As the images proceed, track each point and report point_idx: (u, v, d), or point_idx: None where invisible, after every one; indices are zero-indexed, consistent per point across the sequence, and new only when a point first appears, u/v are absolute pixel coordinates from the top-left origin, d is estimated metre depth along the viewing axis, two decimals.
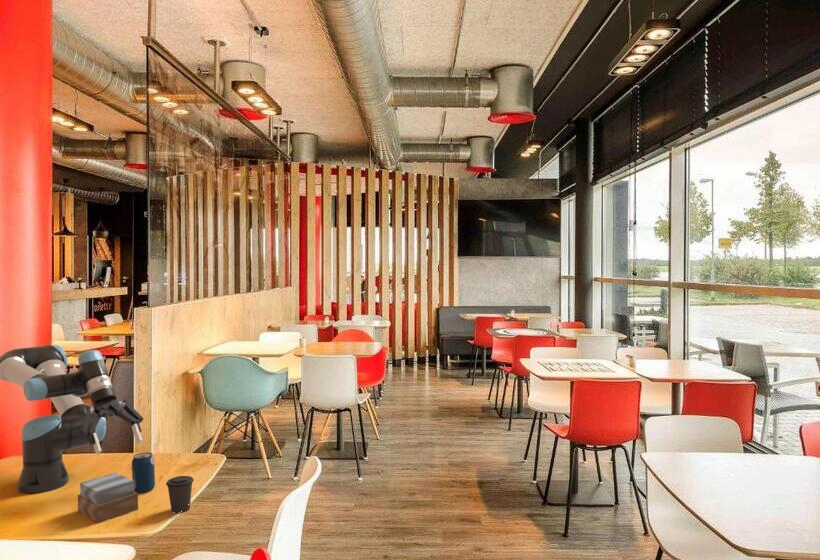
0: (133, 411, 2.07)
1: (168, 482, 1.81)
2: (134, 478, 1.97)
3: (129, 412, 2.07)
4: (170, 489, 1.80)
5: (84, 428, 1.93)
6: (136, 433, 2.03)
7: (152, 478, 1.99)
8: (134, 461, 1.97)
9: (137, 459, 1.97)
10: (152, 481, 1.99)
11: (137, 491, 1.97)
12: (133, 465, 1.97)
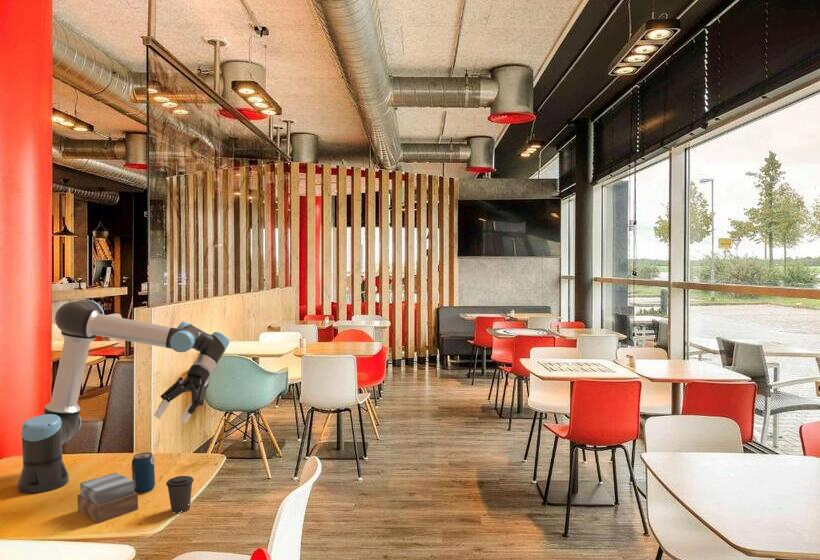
0: None
1: (168, 482, 1.81)
2: (134, 478, 1.97)
3: (173, 389, 2.19)
4: (170, 489, 1.80)
5: None
6: (163, 410, 2.14)
7: (152, 478, 1.99)
8: (134, 461, 1.97)
9: (137, 459, 1.97)
10: (152, 481, 1.99)
11: (137, 491, 1.97)
12: (133, 465, 1.97)
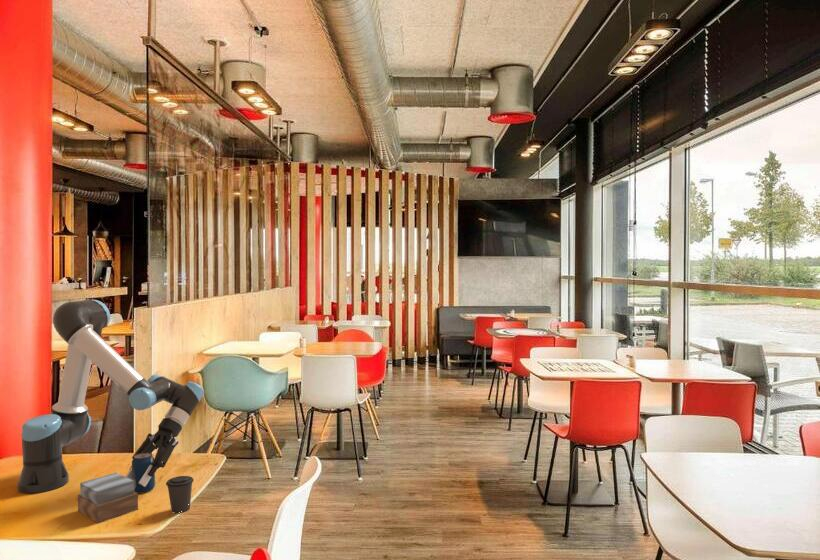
0: None
1: (168, 482, 1.81)
2: (134, 478, 1.97)
3: (145, 446, 2.06)
4: (170, 489, 1.80)
5: None
6: None
7: (152, 478, 1.99)
8: (134, 461, 1.97)
9: (137, 459, 1.97)
10: (152, 481, 1.99)
11: (137, 491, 1.97)
12: (133, 465, 1.97)
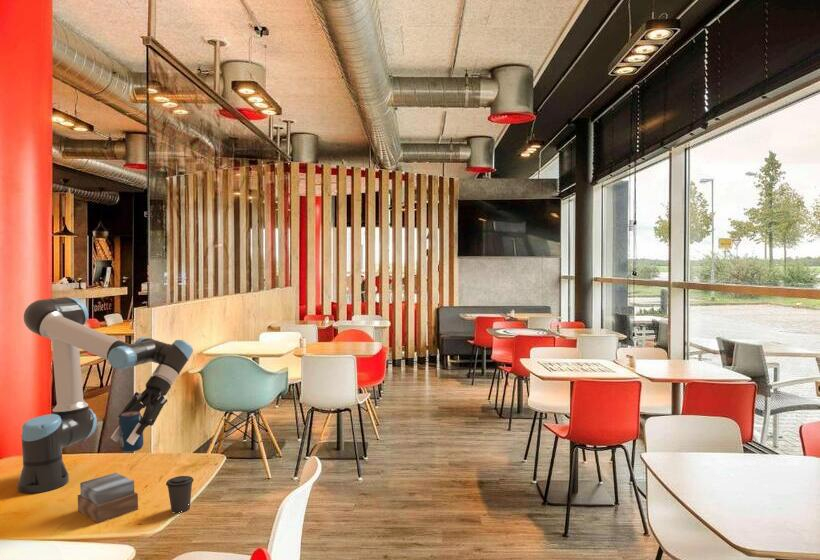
0: None
1: (168, 482, 1.81)
2: (121, 437, 1.89)
3: (132, 405, 1.98)
4: (170, 489, 1.80)
5: None
6: None
7: (140, 437, 1.91)
8: (121, 419, 1.89)
9: (124, 417, 1.89)
10: (140, 440, 1.91)
11: (125, 450, 1.89)
12: (120, 423, 1.89)
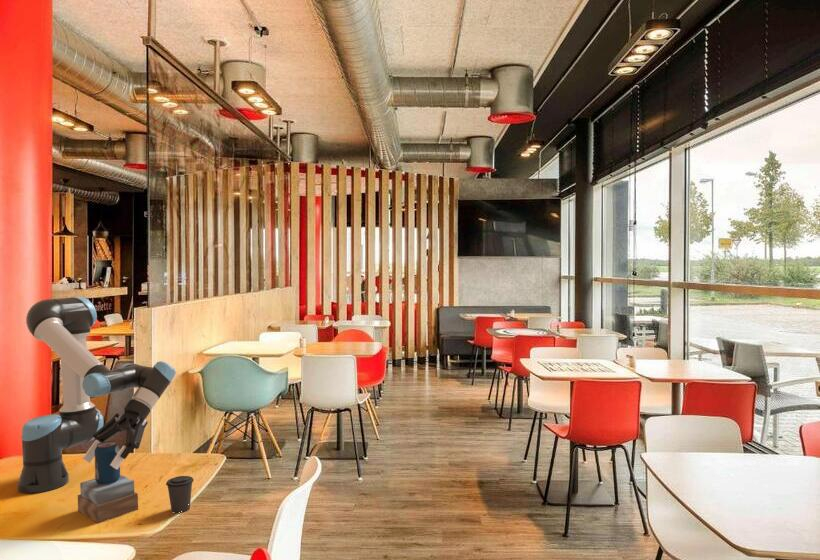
0: None
1: (168, 482, 1.81)
2: (96, 468, 1.80)
3: (108, 427, 1.91)
4: (170, 489, 1.80)
5: None
6: (94, 452, 1.87)
7: None
8: (97, 450, 1.80)
9: (100, 448, 1.80)
10: (117, 472, 1.83)
11: (100, 483, 1.80)
12: (96, 454, 1.80)
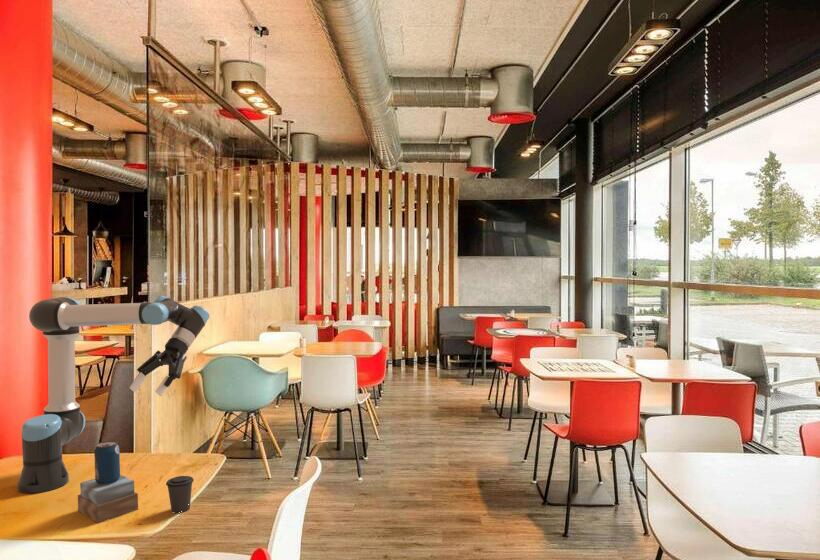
0: None
1: (168, 482, 1.81)
2: (96, 468, 1.80)
3: (151, 362, 2.13)
4: (170, 489, 1.80)
5: None
6: (139, 383, 2.08)
7: (117, 469, 1.83)
8: (97, 450, 1.80)
9: (100, 448, 1.80)
10: (117, 472, 1.83)
11: (100, 483, 1.80)
12: (95, 454, 1.80)
